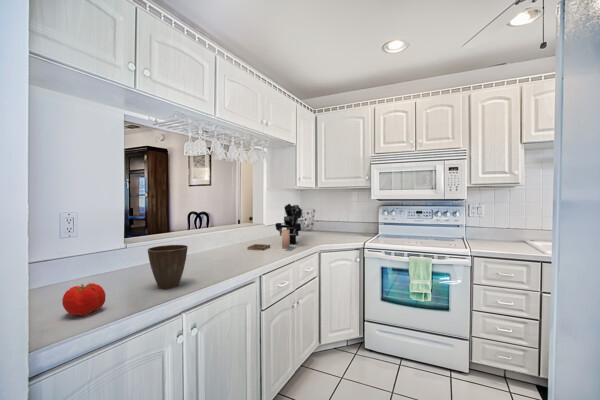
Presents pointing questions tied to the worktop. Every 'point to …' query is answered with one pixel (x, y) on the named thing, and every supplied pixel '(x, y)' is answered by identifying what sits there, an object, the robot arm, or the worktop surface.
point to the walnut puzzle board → (258, 247)
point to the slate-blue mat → (290, 248)
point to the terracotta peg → (285, 239)
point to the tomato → (83, 299)
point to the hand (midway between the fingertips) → (286, 235)
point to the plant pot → (167, 264)
